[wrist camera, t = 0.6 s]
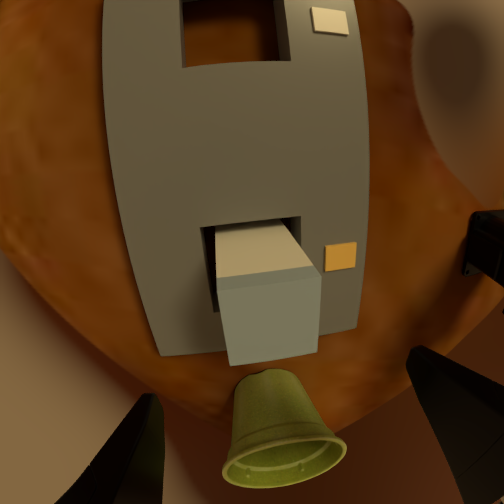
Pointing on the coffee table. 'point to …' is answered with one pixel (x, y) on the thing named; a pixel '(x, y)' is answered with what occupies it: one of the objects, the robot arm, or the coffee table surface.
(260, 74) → the panel board
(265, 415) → the plant pot
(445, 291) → the coffee table surface
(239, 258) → the plug
